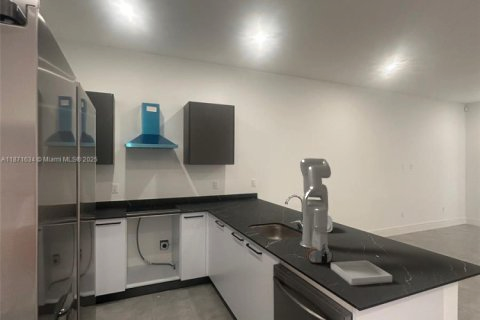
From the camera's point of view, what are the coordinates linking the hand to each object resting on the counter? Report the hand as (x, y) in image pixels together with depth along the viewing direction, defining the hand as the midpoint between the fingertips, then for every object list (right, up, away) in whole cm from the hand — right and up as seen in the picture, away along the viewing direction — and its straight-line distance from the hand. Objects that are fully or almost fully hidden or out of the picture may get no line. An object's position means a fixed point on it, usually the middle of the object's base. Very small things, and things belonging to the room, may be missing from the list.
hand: (319, 259), depth 139 cm
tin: (0, -2, 0) cm, 2 cm away
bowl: (+21, -3, +67) cm, 70 cm away
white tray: (+16, -2, -14) cm, 21 cm away
